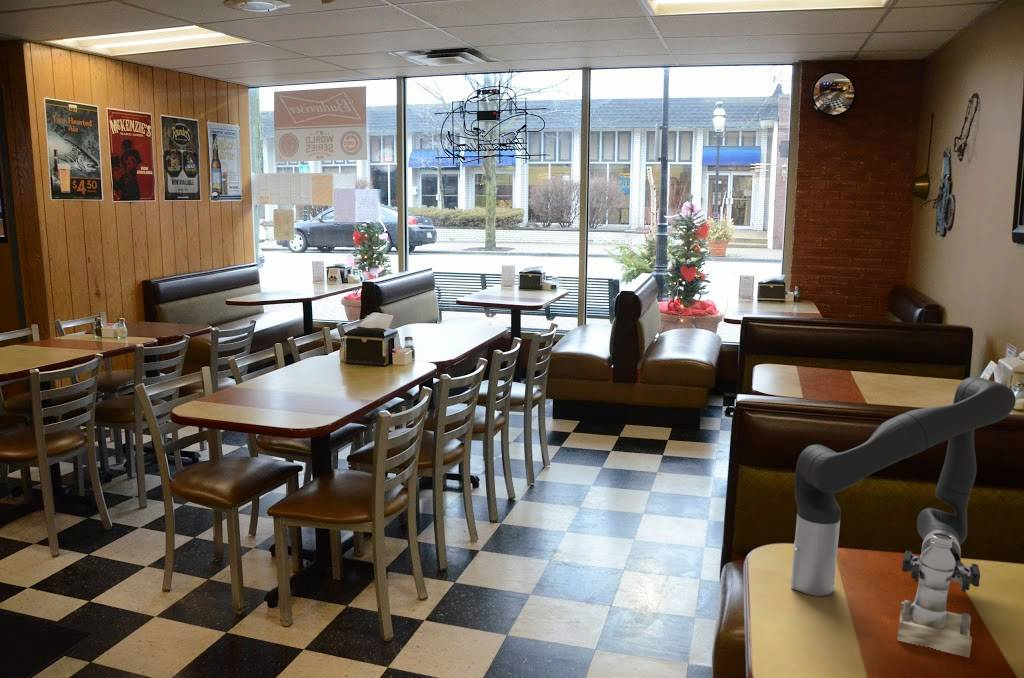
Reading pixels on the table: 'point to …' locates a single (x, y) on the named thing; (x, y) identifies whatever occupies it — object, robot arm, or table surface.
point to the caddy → (937, 632)
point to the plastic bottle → (934, 582)
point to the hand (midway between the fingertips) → (940, 582)
